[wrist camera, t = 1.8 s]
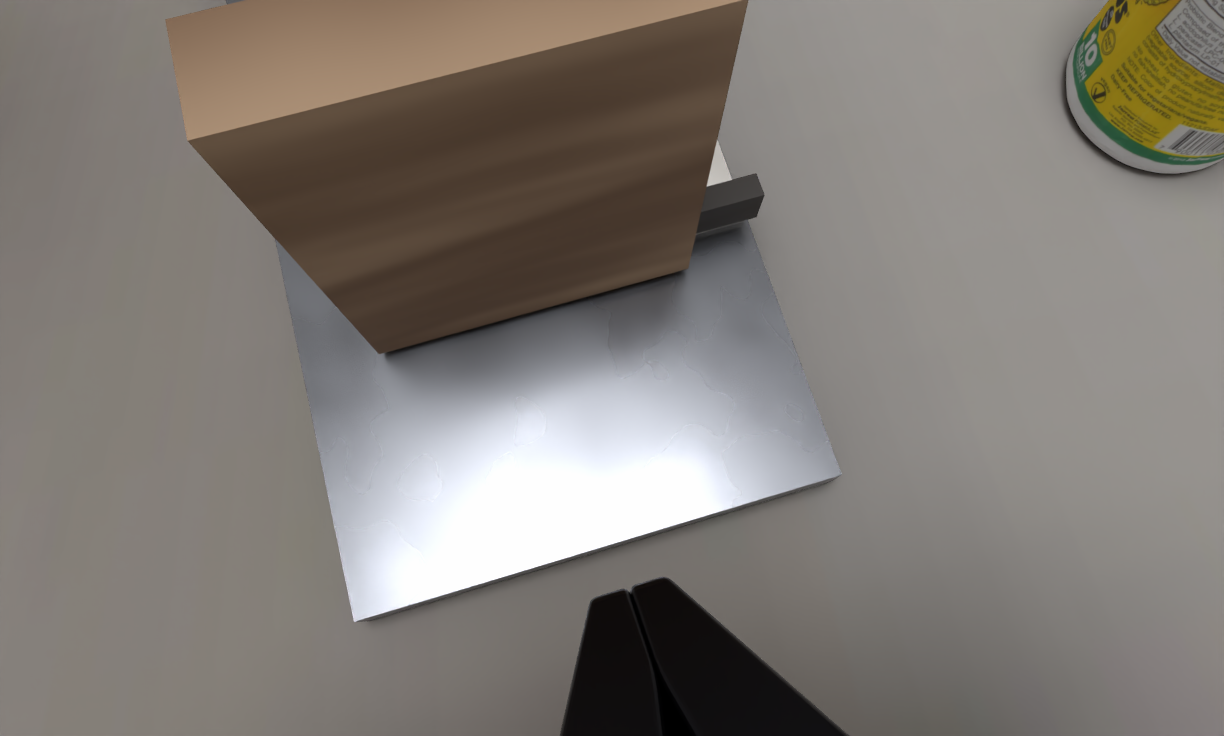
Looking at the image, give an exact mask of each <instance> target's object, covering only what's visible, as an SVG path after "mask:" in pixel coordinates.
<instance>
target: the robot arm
mask: <svg viewBox="0 0 1224 736" xmlns="http://www.w3.org/2000/svg"><path fill="white" fill-rule="evenodd" d="M560 736H849V735H848V734H846V733H845V732H844V731H843V730H842V729H841V728H840V727H838V726H837V725H836V724H835V723H834V722H833V721H832V720H830V719H829V718H828V717H827V716H826V715H825V714H824V713H823V712H821V711H820V710H819V709H818V708H817V707H816V706H815V705H813V704H812V703H811V702H810V701H809V700H808V699H807V698H805V697H804V696H803V695H802V694H801V693H800V692H799V691H797V690H796V689H795V688H794V687H793V686H792V685H791V684H789V683H788V682H787V681H786V680H785V679H784V678H783V677H781V676H780V675H779V674H778V673H777V672H776V671H775V670H773V669H772V668H771V667H770V666H769V665H768V664H767V663H765V662H764V661H763V660H762V659H761V658H760V657H759V656H757V655H756V654H755V653H754V652H753V651H752V650H751V649H749V648H748V647H747V646H746V645H745V644H744V643H743V642H741V641H740V640H739V639H738V638H737V637H736V636H735V635H733V634H732V633H731V632H730V631H729V630H728V629H727V628H725V627H724V626H723V625H722V624H721V623H720V622H719V621H718V620H716V619H715V618H714V617H713V616H712V615H711V614H710V613H708V612H707V611H706V610H705V609H704V608H703V607H702V606H700V605H699V604H698V603H697V602H696V601H695V600H694V599H692V598H691V597H690V596H689V595H688V594H687V593H686V592H684V591H683V590H682V589H681V588H680V587H679V586H678V585H676V584H675V583H674V582H673V581H672V580H670V579H669V578H667V577H659V578H656V579H653V580H650V581H646V582H643V583H640V584H637V585H634V586H633V587H632V588H631V591H630V592H629V591H628V590H626V589H620V590H617V591H614V592H611V593H607V594H604V595H601V596H598V597H595V598H593V599H592V600H591V602H590V604H589V607H588V612H587V616H586V620H585V625H584V629H583V634H582V638H581V643H580V647H579V652H578V656H577V661H576V665H575V670H574V674H573V679H572V683H571V688H570V692H569V697H568V701H567V706H566V710H565V715H564V719H563V724H562V728H561V733H560Z"/></svg>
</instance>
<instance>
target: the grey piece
mask: <svg viewBox="0 0 1224 736" xmlns="http://www.w3.org/2000/svg"><path fill="white" fill-rule="evenodd" d="M240 1H244V0H226V3H227V5H228V4H232V3H236V2H240ZM730 180H733V179H732V177H731V174H730V171H729V169H728V166H727V163H726V161H725V158H724V155H723V152H722V150H721V147H720V144H719V142H718V139H717V142H716V147H715V151H714V156H713V160H712V165H711V169H710V174H709V178H708V183H707V186H711V185H715V184H718V183H722V182H726V181H730ZM275 241H276V245H277V250H278V255H279V260H280V265H281V270H282V275H283V279H284V284H285V289H286V294H287V299H288V304H289V309H290V313H291V318H292V323H293V328H294V333H295V338H296V342H297V347H298V352H299V357H300V362H301V367H302V372H303V376H304V381H305V386H306V391H307V396H308V401H309V406H310V410H311V415H312V420H313V425H314V430H315V435H316V440H317V444H318V449H319V454H320V459H321V464H322V469H323V473H324V478H325V483H326V488H327V493H328V498H329V503H330V507H331V512H332V517H333V522H334V527H335V532H336V537H337V541H338V546H339V551H340V556H341V561H342V566H343V571H344V575H345V580H346V585H347V590H348V595H349V600H350V605H351V609H352V614H353V619H354V622H362V621H371V620H374V619H377V618H381V617H384V616H387V615H391V614H394V613H397V612H401V611H404V610H407V609H411V608H414V607H417V606H420V605H424V604H427V603H430V602H434V601H437V600H440V599H444V598H447V597H450V596H454V595H457V594H460V593H464V592H467V591H470V590H473V589H477V588H480V587H483V586H487V585H490V584H493V583H497V582H500V581H503V580H507V579H510V578H513V577H517V576H520V575H523V574H527V573H530V572H533V571H536V570H540V569H543V568H546V567H550V566H553V565H556V564H560V563H563V562H566V561H570V560H573V559H576V558H580V557H583V556H586V555H589V554H593V553H596V552H599V551H603V550H606V549H609V548H613V547H616V546H619V545H623V544H626V543H629V542H633V541H636V540H639V539H642V538H646V537H649V536H652V535H656V534H659V533H662V532H666V531H669V530H672V529H676V528H679V527H682V526H686V525H689V524H692V523H696V522H699V521H702V520H705V519H709V518H712V517H715V516H719V515H722V514H725V513H729V512H732V511H735V510H739V509H742V508H745V507H749V506H752V505H755V504H758V503H762V502H765V501H768V500H772V499H775V498H778V497H782V496H785V495H788V494H792V493H795V492H798V491H802V490H805V489H808V488H811V487H815V486H818V485H821V484H825V483H828V482H831V481H832V480H834V479H836V478H837V477H839V476H841V475H842V474H841V471H840V468H839V466H838V463H837V460H836V457H835V455H834V452H833V449H832V447H831V444H830V441H829V439H828V436H827V433H826V430H825V428H824V425H823V422H822V420H821V417H820V414H819V412H818V409H817V406H816V403H815V401H814V398H813V395H812V393H811V390H810V387H809V385H808V382H807V379H806V376H805V374H804V371H803V368H802V366H801V363H800V360H799V358H798V355H797V352H796V350H795V347H794V344H793V341H792V339H791V336H790V333H789V331H788V328H787V325H786V323H785V320H784V317H783V314H782V312H781V309H780V306H779V304H778V301H777V298H776V296H775V293H774V290H773V287H772V285H771V282H770V279H769V277H768V274H767V271H766V269H765V266H764V263H763V260H762V258H761V255H760V252H759V250H758V247H757V244H756V242H755V239H754V236H753V233H752V231H751V228H750V225H749V223H748V220H744V221H740V222H736V223H733V224H729V225H725V226H722V227H718V228H714V229H711V230H707V231H703V232H700V233H696V236H695V241H694V245H693V250H692V254H691V259H690V263H689V267H688V269H685V270H681V271H678V272H674V273H671V274H667V275H663V276H660V277H656V278H653V279H649V280H645V281H642V282H638V283H635V284H631V285H627V286H624V287H620V288H617V289H613V290H609V291H606V292H602V293H599V294H595V295H591V296H588V297H584V298H581V299H577V300H573V301H570V302H566V303H562V304H559V305H555V306H552V307H548V308H544V309H541V310H537V311H534V312H530V313H526V314H523V315H519V316H516V317H512V318H508V319H505V320H501V321H498V322H494V323H490V324H487V325H483V326H480V327H476V328H472V329H469V330H465V331H462V332H458V333H454V334H451V335H447V336H443V337H440V338H436V339H433V340H429V341H425V342H422V343H418V344H415V345H411V346H407V347H404V348H400V349H397V350H393V351H389V352H386V353H382V354H378V353H377V352H376V350H375V349H374V348H373V347H372V346H371V345H370V344H369V343H368V342H367V340H366V339H365V338H364V337H363V336H362V335H361V334H360V333H359V332H358V330H357V329H356V328H355V327H354V326H353V325H352V324H351V323H350V321H349V320H348V319H347V318H346V317H345V316H344V315H343V314H342V313H341V311H340V310H339V309H338V308H337V307H336V306H335V305H334V304H333V303H332V301H331V300H330V299H329V298H328V297H327V296H326V295H325V294H324V292H323V291H322V290H321V289H320V288H319V287H318V286H317V285H316V284H315V282H314V281H313V280H312V279H311V278H310V277H309V276H308V275H307V273H306V272H305V271H304V270H303V269H302V268H301V267H300V266H299V265H298V263H297V262H296V261H295V260H294V259H293V258H292V257H291V256H290V255H289V253H288V252H287V251H286V250H285V249H284V248H283V247H282V246H281V244H280V243H279V242H278V241H277V240H276V239H275Z"/></svg>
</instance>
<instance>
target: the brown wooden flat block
mask: <svg viewBox="0 0 1224 736" xmlns="http://www.w3.org/2000/svg"><path fill="white" fill-rule="evenodd" d="M747 4H748V0H244V1H240V2H236V3H232V4H228V5H223V6H219V7H215V8H211V9H207V10H203V11H199V12H194V13H190V14H186V15H182V16H178V17H174V18H170V19H165V20H166V26H167V31H168V37H169V42H170V48H171V53H172V59H173V64H174V70H175V75H176V81H177V86H178V92H179V97H180V103H181V108H182V114H183V119H184V125H185V130H186V136H187V141H188V142H189V143H190V144H191V145H192V146H193V147H194V149H195V150H196V151H197V152H198V153H199V154H200V155H201V156H202V157H203V159H204V160H205V161H206V162H207V163H208V164H209V165H210V166H211V168H212V169H213V170H214V171H215V172H216V173H217V174H218V175H219V176H220V178H221V179H222V180H223V181H224V182H225V183H226V184H227V185H228V186H229V188H230V189H231V190H232V191H233V192H234V193H235V194H236V195H237V197H238V198H239V199H240V200H241V201H242V202H243V203H244V204H245V205H246V207H247V208H248V209H249V210H250V211H251V212H252V213H253V214H254V215H255V217H256V218H257V219H258V220H259V221H260V222H261V223H262V224H263V226H264V227H265V228H266V229H267V230H268V231H269V232H270V233H271V234H272V236H273V237H274V238H275V239H276V240H277V241H278V242H279V243H280V244H281V246H282V247H283V248H284V249H285V250H286V251H287V252H288V253H289V255H290V256H291V257H292V258H293V259H294V260H295V261H296V262H297V263H298V265H299V266H300V267H301V268H302V269H303V270H304V271H305V272H306V273H307V275H308V276H309V277H310V278H311V279H312V280H313V281H314V282H315V284H316V285H317V286H318V287H319V288H320V289H321V290H322V291H323V292H324V294H325V295H326V296H327V297H328V298H329V299H330V300H331V301H332V303H333V304H334V305H335V306H336V307H337V308H338V309H339V310H340V311H341V313H342V314H343V315H344V316H345V317H346V318H347V319H348V320H349V321H350V323H351V324H352V325H353V326H354V327H355V328H356V329H357V330H358V332H359V333H360V334H361V335H362V336H363V337H364V338H365V339H366V340H367V342H368V343H369V344H370V345H371V346H372V347H373V348H374V349H375V350H376V352H377V353H378V354H382V353H386V352H389V351H393V350H397V349H400V348H404V347H407V346H411V345H415V344H418V343H422V342H425V341H429V340H433V339H436V338H440V337H443V336H447V335H451V334H454V333H458V332H462V331H465V330H469V329H472V328H476V327H480V326H483V325H487V324H490V323H494V322H498V321H501V320H505V319H508V318H512V317H516V316H519V315H523V314H526V313H530V312H534V311H537V310H541V309H544V308H548V307H552V306H555V305H559V304H562V303H566V302H570V301H573V300H577V299H581V298H584V297H588V296H591V295H595V294H599V293H602V292H606V291H609V290H613V289H617V288H620V287H624V286H627V285H631V284H635V283H638V282H642V281H645V280H649V279H653V278H656V277H660V276H663V275H667V274H671V273H674V272H678V271H681V270H685V269H688V267H689V263H690V259H691V254H692V250H693V245H694V241H695V236H696V233H700V232H703V231H707V230H711V229H714V228H718V227H722V226H725V225H729V224H733V223H736V222H740V221H744V220H747V219H751V218H755V217H757V214H758V211H759V208H760V206H761V203H762V200H763V197H764V192H763V190H762V187H761V185H760V182H759V179H758V177H757V174H756V173H755V174H752V175H748V176H744V177H741V178H737V179H733V180H730V181H726V182H722V183H718V184H715V185H711V186H707V183H708V178H709V174H710V169H711V165H712V160H713V156H714V151H715V147H716V142H717V138H718V133H719V129H720V125H721V120H722V116H723V111H724V107H725V102H726V98H727V93H728V89H729V84H730V80H731V75H732V71H733V66H734V62H735V57H736V53H737V49H738V44H739V40H740V35H741V31H742V26H743V22H744V17H745V13H746V8H747Z"/></svg>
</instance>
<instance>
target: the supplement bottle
mask: <svg viewBox="0 0 1224 736" xmlns="http://www.w3.org/2000/svg"><path fill="white" fill-rule="evenodd" d="M1066 90H1067V100H1068V103H1069V106H1070V109H1071V112H1072V114H1073V116H1074V118H1075V120H1076V122H1077V124H1078V126H1079V127H1080V129H1081V130H1082V132H1083V133H1084V134H1085V135H1086V136H1087V137H1088V138H1089V139H1090V140H1091V141H1092V142H1093V143H1094V144H1095V145H1096V146H1097V147H1099V148H1100V149H1101V150H1103V151H1104V152H1106V153H1107V154H1108V155H1110V156H1111V157H1113V158H1115V159H1116V160H1118V161H1120V162H1122V163H1124V164H1126V165H1129V166H1132V167H1134V168H1138V169H1142V170H1146V171H1150V172H1156V173H1174V174H1175V173H1184V172H1191V171H1196V170H1200V169H1203V168H1206V167H1208V166H1211V165H1213V164H1215V163H1217V162H1219V161H1221V160H1223V159H1224V0H1109V1H1108V2H1107V3H1106V5H1105V6H1104V7H1103V8H1102V10H1101V11H1100V12H1099V13H1098V14H1097V16H1096V17H1095V18H1094V19H1093V21H1092V22H1091V23H1090V24H1089V25H1088V27H1087V28H1086V29H1085V31H1084V32H1083V33H1082V34H1081V36H1080V37H1079V39H1078V40H1077V42H1076V43H1075V45H1074V47H1073V48H1072V51H1071V53H1070V56H1069V58H1068V62H1067V69H1066Z"/></svg>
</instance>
